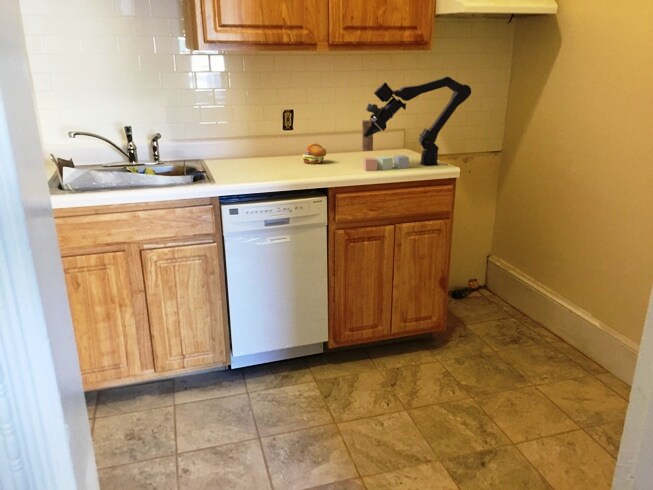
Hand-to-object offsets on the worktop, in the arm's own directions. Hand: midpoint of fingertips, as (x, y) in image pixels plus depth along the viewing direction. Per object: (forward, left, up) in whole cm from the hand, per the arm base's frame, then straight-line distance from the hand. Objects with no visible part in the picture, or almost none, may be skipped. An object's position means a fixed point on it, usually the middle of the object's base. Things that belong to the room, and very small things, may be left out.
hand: (364, 135), depth 246 cm
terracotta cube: (+1, +10, -14) cm, 17 cm away
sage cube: (-6, +10, -14) cm, 18 cm away
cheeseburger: (+20, -14, -14) cm, 28 cm away
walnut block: (-1, 0, -7) cm, 7 cm away
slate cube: (-14, +10, -14) cm, 22 cm away
